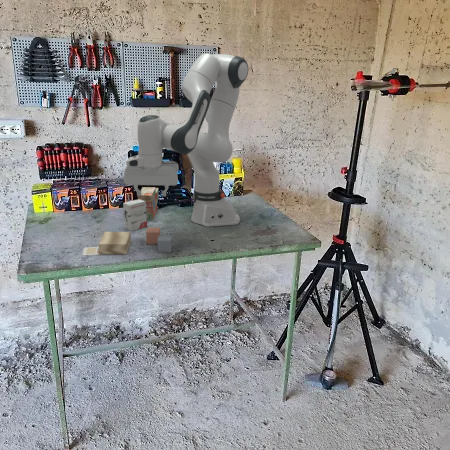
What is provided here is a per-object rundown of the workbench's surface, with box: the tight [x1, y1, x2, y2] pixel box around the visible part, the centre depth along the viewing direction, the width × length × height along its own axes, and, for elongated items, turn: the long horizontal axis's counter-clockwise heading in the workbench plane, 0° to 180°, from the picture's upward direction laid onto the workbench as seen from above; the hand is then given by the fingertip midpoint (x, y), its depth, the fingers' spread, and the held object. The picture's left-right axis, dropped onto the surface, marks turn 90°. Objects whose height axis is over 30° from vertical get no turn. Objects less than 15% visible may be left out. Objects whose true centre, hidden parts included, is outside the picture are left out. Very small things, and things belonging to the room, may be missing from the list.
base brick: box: [98, 231, 132, 255], centre depth 160 cm, size 10×12×4 cm
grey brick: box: [157, 234, 173, 253], centre depth 159 cm, size 5×5×5 cm
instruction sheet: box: [81, 246, 101, 257], centre depth 157 cm, size 9×7×1 cm
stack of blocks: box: [137, 186, 160, 221], centre depth 196 cm, size 21×6×12 cm, turn 0°
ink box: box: [122, 198, 148, 232], centre depth 178 cm, size 9×5×12 cm, turn 134°
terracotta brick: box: [145, 227, 161, 245], centre depth 166 cm, size 5×5×5 cm
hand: (151, 195), depth 160 cm, fingers open, 8 cm apart
